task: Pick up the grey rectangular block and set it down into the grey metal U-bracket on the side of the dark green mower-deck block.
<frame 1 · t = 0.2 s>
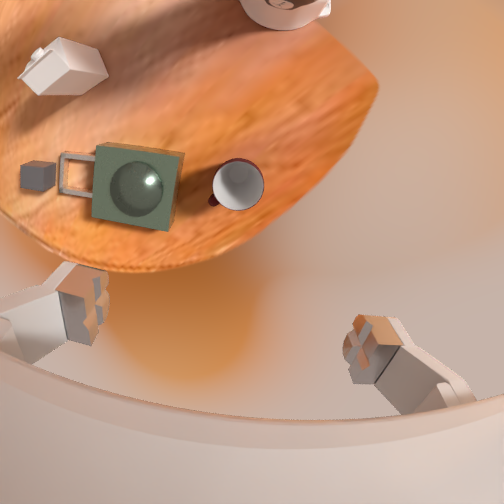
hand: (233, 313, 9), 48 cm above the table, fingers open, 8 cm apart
milk carton: (90, 72, 43), on the table
mug: (234, 178, 55), on the table
grey rectangular block: (44, 172, 51), on the table
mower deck: (139, 181, 54), on the table
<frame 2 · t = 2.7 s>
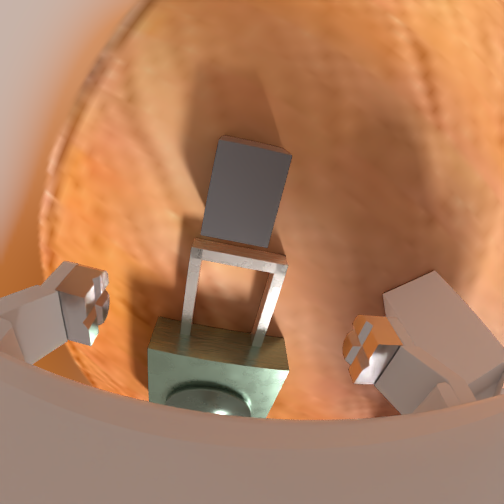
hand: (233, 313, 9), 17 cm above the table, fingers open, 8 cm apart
milk carton: (410, 302, 31), on the table
grey rectangular block: (244, 180, 25), on the table
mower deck: (211, 374, 35), on the table
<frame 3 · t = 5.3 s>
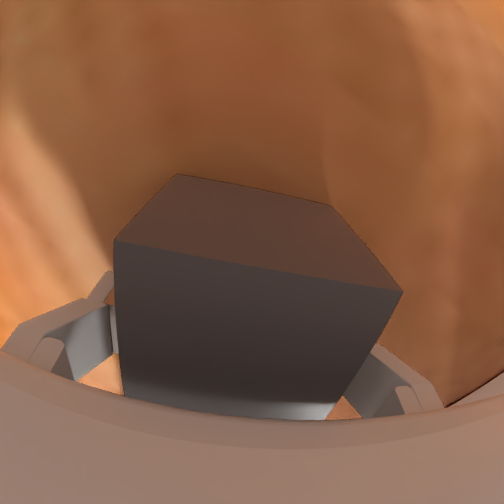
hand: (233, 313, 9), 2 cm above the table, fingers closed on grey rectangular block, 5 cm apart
milk carton: (472, 403, 17), on the table
grey rectangular block: (234, 284, 11), on the table, touching gripper
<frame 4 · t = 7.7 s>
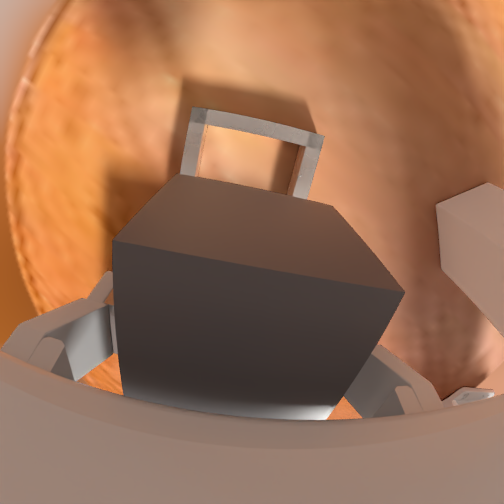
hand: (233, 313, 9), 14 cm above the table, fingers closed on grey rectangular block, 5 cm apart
milk carton: (463, 224, 23), on the table
grey rectangular block: (234, 284, 10), point 12 cm above the table, touching gripper
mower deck: (212, 326, 27), on the table
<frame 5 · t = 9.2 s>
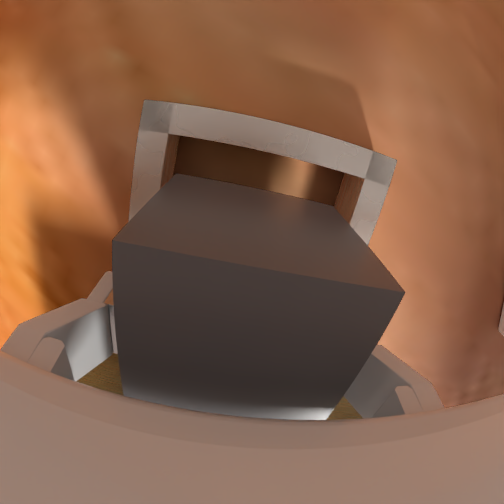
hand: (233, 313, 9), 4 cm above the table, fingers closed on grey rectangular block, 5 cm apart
grey rectangular block: (234, 284, 10), point 2 cm above the table, touching gripper
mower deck: (204, 414, 18), on the table
when the fingers open (3 cm above the table, at t = 10.3 s): grey rectangular block drops 2 cm, resting in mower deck.
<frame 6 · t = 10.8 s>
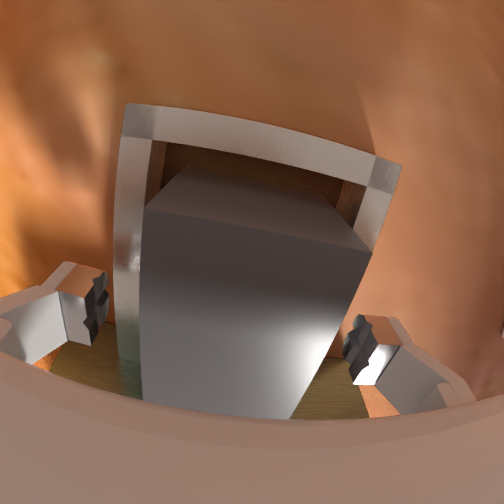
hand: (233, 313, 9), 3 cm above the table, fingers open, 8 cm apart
grey rectangular block: (235, 262, 12), resting in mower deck
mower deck: (200, 425, 17), on the table
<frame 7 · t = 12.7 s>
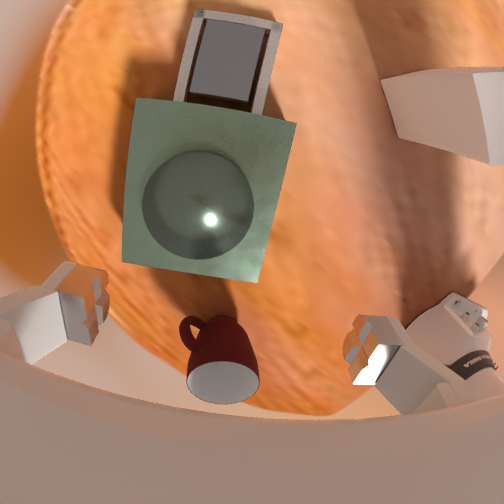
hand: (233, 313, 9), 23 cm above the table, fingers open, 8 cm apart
milk carton: (411, 102, 28), on the table
mug: (215, 321, 39), on the table
grey rectangular block: (227, 67, 25), resting in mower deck
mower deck: (203, 182, 30), on the table
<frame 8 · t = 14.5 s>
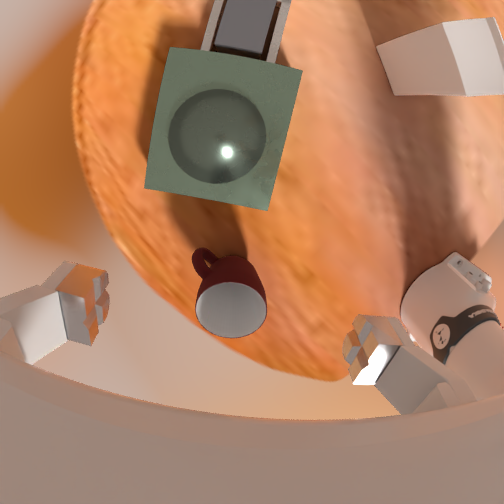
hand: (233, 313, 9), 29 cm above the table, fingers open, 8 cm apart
milk carton: (404, 66, 30), on the table
mug: (226, 262, 41), on the table
grey rectangular block: (245, 31, 28), resting in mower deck
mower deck: (222, 125, 33), on the table
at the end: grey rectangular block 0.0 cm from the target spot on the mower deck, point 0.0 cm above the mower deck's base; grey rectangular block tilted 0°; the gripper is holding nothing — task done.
